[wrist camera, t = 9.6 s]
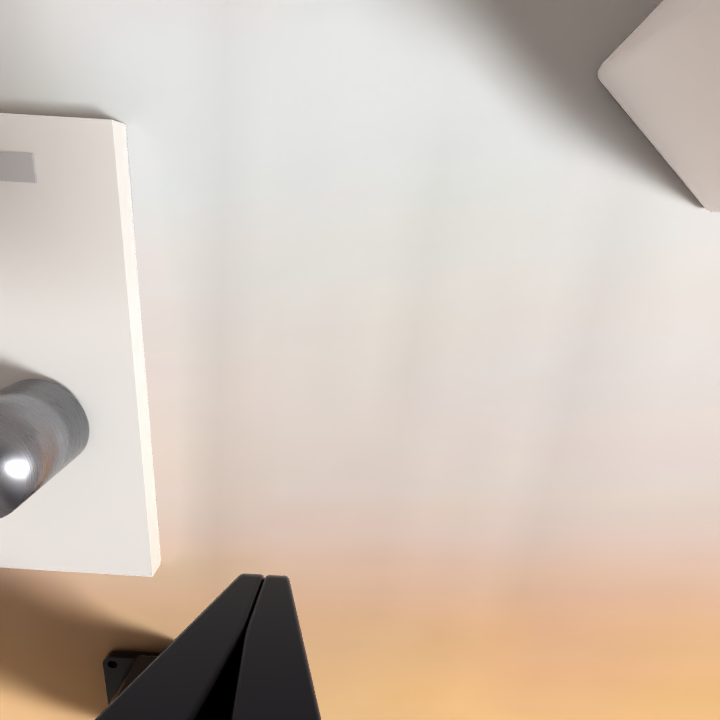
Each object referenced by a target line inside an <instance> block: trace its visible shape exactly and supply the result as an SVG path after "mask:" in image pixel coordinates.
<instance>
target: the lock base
mask: <svg viewBox="0 0 720 720" xmlns="http://www.w3.org/2000/svg"><path fill="white" fill-rule="evenodd" d="M25 379H39V380H45V381H48V382H51V383H54V384H56V385H58V386H60V387H62V388H64V389H65V390H66V391H68V392H69V393H70V394H71V395H73V396H74V397H75V399H76V400H77V401H78V402H79V403H80V405H81V406H82V408H83V409H84V411H85V414H86V416H87V419H88V422H89V439H88V442H87V445H86V447H85V449H84V450H83V451H82V453H81V454H80V455H78V456H77V457H76V458H75V459H74V460H73V461H72V462H70V463H69V464H68V465H67V466H66V467H65V468H63V469H62V470H61V471H60V472H59V473H57V474H56V475H55V476H54V477H53V478H52V479H50V480H49V481H48V482H47V483H46V484H45V485H43V486H42V487H41V488H40V489H39V490H38V491H36V492H35V493H34V494H33V495H32V496H30V497H29V498H28V499H27V500H26V501H25V502H23V503H22V504H21V505H20V506H19V507H18V508H16V509H15V510H14V511H13V512H11V513H10V514H9V515H7V516H5V517H3V518H0V567H2V568H17V569H33V570H49V571H65V572H81V573H97V574H113V575H129V576H145V577H153V575H154V574H155V572H156V570H157V569H158V567H159V565H160V563H161V555H160V543H159V530H158V518H157V506H156V493H155V481H154V469H153V456H152V444H151V432H150V419H149V407H148V395H147V383H146V370H145V358H144V346H143V333H142V321H141V309H140V296H139V284H138V272H137V259H136V247H135V235H134V222H133V210H132V198H131V186H130V173H129V161H128V149H127V136H126V124H123V123H120V122H117V121H114V120H109V119H93V118H76V117H59V116H43V115H26V114H9V113H0V390H1V389H3V388H5V387H7V386H9V385H11V384H13V383H15V382H18V381H21V380H25Z"/></svg>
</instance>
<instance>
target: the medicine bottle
mask: <svg viewBox="0 0 720 720" xmlns="http://www.w3.org/2000/svg"><path fill="white" fill-rule="evenodd" d="M598 78H599V80H600V81H601V82H602V84H603V85H604V86H605V87H606V89H607V90H608V91H609V92H610V93H611V95H612V96H613V97H614V98H615V99H616V101H617V102H618V103H619V104H620V106H621V107H622V108H623V109H624V110H625V112H626V113H627V114H628V115H629V116H630V118H631V119H632V120H633V121H634V123H635V124H636V125H637V126H638V127H639V129H640V130H641V131H642V132H643V133H644V135H645V136H646V137H647V138H648V140H649V141H650V142H651V143H652V144H653V146H654V147H655V148H656V149H657V150H658V152H659V153H660V154H661V155H662V157H663V158H664V159H665V160H666V161H667V163H668V164H669V165H670V166H671V167H672V169H673V170H674V171H675V172H676V174H677V175H678V176H679V177H680V178H681V180H682V181H683V182H684V183H685V184H686V186H687V187H688V188H689V189H690V191H691V192H692V193H693V194H694V195H695V197H696V198H697V199H698V200H699V201H700V203H701V204H702V205H703V206H704V208H705V209H707V210H709V211H710V212H720V0H663V1H662V2H661V3H660V4H659V5H658V6H657V7H656V8H655V9H654V10H653V11H652V12H651V13H650V14H649V15H648V17H647V18H646V19H645V20H644V21H643V22H642V23H641V24H640V25H639V26H638V27H637V28H636V29H635V30H634V31H633V32H632V33H631V34H630V35H629V36H628V37H627V38H626V39H625V40H624V41H623V42H622V44H621V45H620V46H619V47H618V48H617V49H616V50H615V51H614V52H613V53H612V54H611V55H610V56H609V57H608V58H607V59H606V60H605V61H604V62H603V63H602V65H601V67H600V68H599V70H598Z"/></svg>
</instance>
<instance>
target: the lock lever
mask: <svg viewBox="0 0 720 720" xmlns="http://www.w3.org/2000/svg"><path fill="white" fill-rule="evenodd" d="M88 439H89V422H88V419H87V416H86V414H85V411H84V409H83V408H82V406H81V405H80V403H79V402H78V401H77V400H76V399H75V397H74V396H73V395H71V394H70V393H69V392H68V391H66V390H65V389H64V388H62V387H60V386H58V385H56V384H54V383H51V382H48V381H45V380H39V379H25V380H21V381H18V382H15V383H13V384H11V385H9V386H7V387H5V388H3V389H1V390H0V518H3V517H5V516H7V515H9V514H10V513H11V512H13V511H14V510H15V509H16V508H18V507H19V506H20V505H21V504H22V503H23V502H25V501H26V500H27V499H28V498H29V497H30V496H32V495H33V494H34V493H35V492H36V491H38V490H39V489H40V488H41V487H42V486H43V485H45V484H46V483H47V482H48V481H49V480H50V479H52V478H53V477H54V476H55V475H56V474H57V473H59V472H60V471H61V470H62V469H63V468H65V467H66V466H67V465H68V464H69V463H70V462H72V461H73V460H74V459H75V458H76V457H77V456H78V455H80V454H81V453H82V451H83V450H84V449H85V447H86V445H87V442H88Z"/></svg>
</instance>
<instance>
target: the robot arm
mask: <svg viewBox="0 0 720 720" xmlns="http://www.w3.org/2000/svg"><path fill="white" fill-rule="evenodd" d="M103 667H104V674H105V682H106V689H107V696H108V704H109V706H108V707H107V708H106V709H105V710H104V711H103V712H102V713H101V714H100V715H99V716H98V717H97V718H96V719H95V720H321V717H320V712H319V708H318V704H317V699H316V695H315V690H314V686H313V682H312V677H311V673H310V668H309V664H308V660H307V655H306V651H305V647H304V642H303V638H302V633H301V629H300V625H299V620H298V616H297V612H296V607H295V603H294V598H293V594H292V590H291V585H290V581H289V578H288V577H287V576H277V575H268V576H266V577H265V578H264V576H263V575H261V574H241V575H239V576H238V577H237V578H236V579H235V580H234V581H233V582H232V583H231V584H230V585H229V586H228V587H227V588H226V589H225V590H224V591H223V592H222V593H221V594H220V595H219V596H218V597H217V598H216V599H215V600H214V601H213V602H212V603H211V604H210V605H209V606H208V607H207V608H206V609H205V610H204V611H203V612H202V613H201V614H200V615H199V616H198V617H197V618H196V619H195V620H194V621H193V622H192V623H191V624H190V625H189V626H188V627H187V628H186V629H185V630H184V631H183V632H182V633H181V634H180V635H179V636H178V637H177V638H176V639H175V640H174V641H173V642H172V643H171V644H170V645H169V646H168V647H167V648H166V649H165V650H164V651H163V652H162V653H161V654H160V653H145V652H129V651H111V652H109V653H108V654H107V656H106V658H105V659H104V661H103Z"/></svg>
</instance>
